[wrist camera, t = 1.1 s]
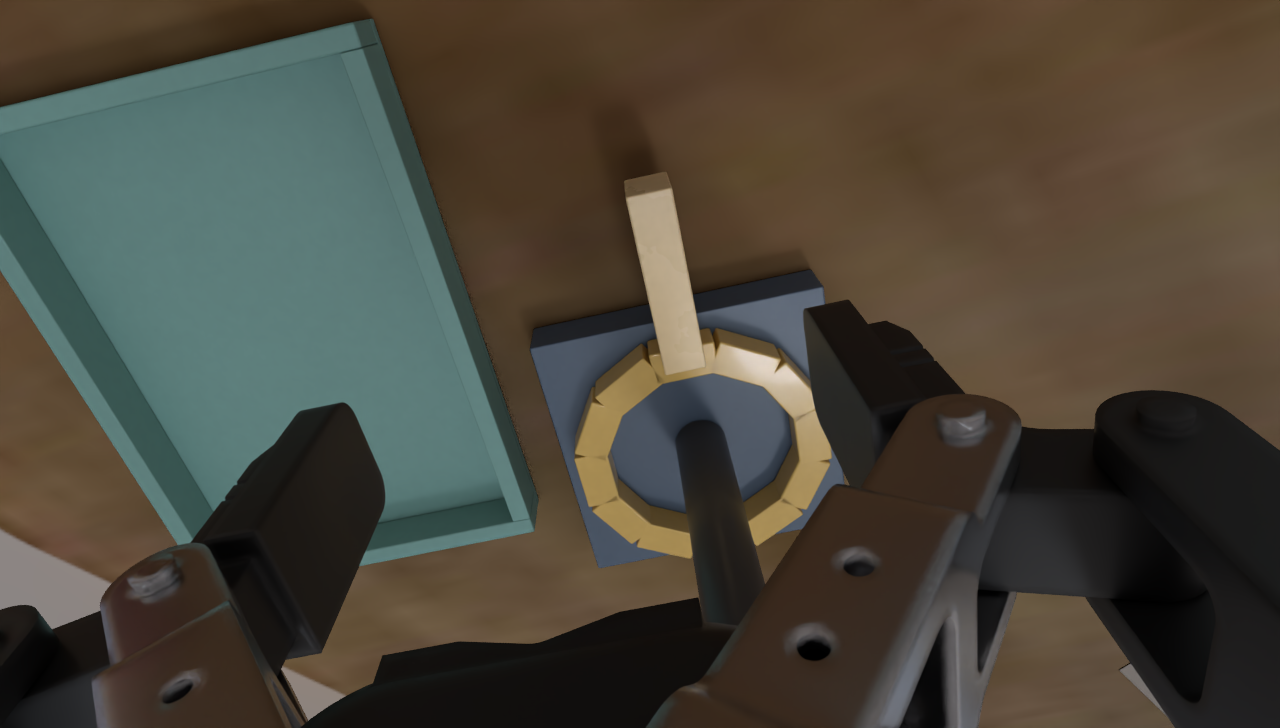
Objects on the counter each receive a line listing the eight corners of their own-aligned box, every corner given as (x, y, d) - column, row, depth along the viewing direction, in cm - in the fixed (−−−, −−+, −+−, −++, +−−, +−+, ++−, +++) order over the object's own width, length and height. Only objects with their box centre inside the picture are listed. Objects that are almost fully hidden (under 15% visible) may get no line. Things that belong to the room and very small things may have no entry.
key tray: (-38, 117, 27) (-93, 129, 25) (372, 18, 26) (352, 21, 24) (233, 560, 37) (210, 596, 35) (538, 499, 36) (534, 532, 34)
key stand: (533, 328, 32) (446, 764, 14) (811, 268, 31) (1083, 648, 14) (598, 541, 38) (594, 1047, 20) (836, 494, 37) (1054, 975, 19)
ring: (504, 207, 28) (495, 226, 25) (788, 143, 27) (804, 157, 25) (609, 555, 35) (610, 592, 33) (832, 511, 35) (847, 546, 33)
